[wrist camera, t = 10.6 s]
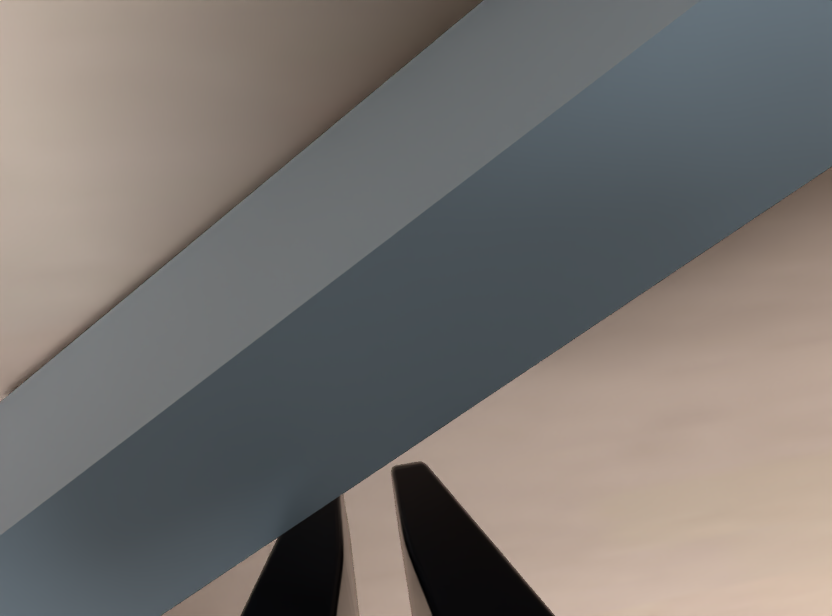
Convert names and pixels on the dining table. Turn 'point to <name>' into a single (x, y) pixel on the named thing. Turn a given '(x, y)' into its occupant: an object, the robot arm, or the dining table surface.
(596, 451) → the dining table surface
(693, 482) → the dining table surface
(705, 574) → the dining table surface
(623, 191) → the gate
